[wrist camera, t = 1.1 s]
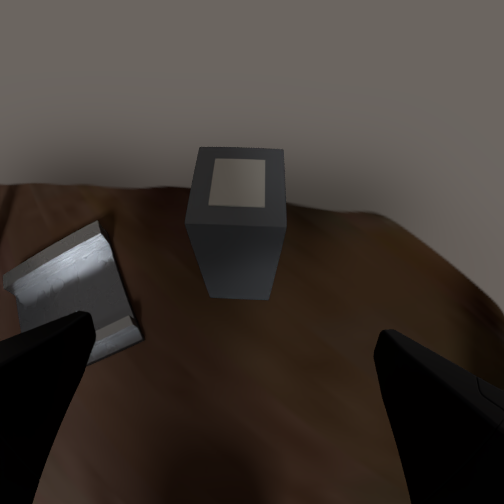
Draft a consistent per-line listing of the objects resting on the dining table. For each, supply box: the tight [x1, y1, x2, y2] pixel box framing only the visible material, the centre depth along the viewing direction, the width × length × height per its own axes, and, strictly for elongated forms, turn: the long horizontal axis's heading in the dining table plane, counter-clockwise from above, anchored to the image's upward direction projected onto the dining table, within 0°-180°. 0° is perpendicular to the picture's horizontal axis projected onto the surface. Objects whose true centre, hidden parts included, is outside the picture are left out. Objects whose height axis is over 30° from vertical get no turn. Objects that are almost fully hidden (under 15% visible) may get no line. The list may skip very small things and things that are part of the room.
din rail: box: [3, 220, 145, 366], centre depth 21 cm, size 11×12×3 cm
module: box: [185, 147, 287, 300], centre depth 19 cm, size 5×5×11 cm
